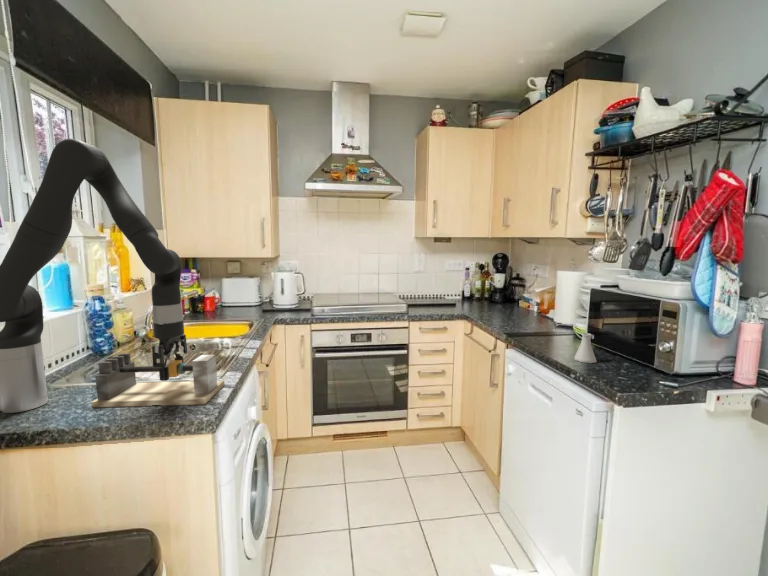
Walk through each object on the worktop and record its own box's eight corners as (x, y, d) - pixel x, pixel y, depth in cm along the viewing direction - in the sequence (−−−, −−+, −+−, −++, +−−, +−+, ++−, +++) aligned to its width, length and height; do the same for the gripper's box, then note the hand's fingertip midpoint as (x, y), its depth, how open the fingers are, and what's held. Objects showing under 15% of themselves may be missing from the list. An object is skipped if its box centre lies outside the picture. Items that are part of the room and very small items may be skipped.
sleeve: (161, 377, 106) (160, 364, 106) (168, 372, 110) (167, 360, 110) (176, 377, 106) (175, 364, 106) (182, 372, 110) (181, 360, 110)
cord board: (91, 407, 101) (87, 366, 100) (125, 387, 115) (121, 351, 114) (205, 404, 102) (202, 363, 101) (224, 385, 116) (222, 349, 115)
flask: (600, 363, 134) (602, 336, 133) (580, 363, 134) (581, 336, 133) (589, 357, 141) (591, 331, 140) (570, 357, 141) (571, 331, 140)
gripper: (168, 315, 113) (172, 367, 115) (139, 325, 99) (144, 384, 101) (193, 314, 114) (196, 366, 115) (168, 324, 99) (173, 383, 101)
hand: (172, 375), depth 108 cm, fingers open, 8 cm apart
